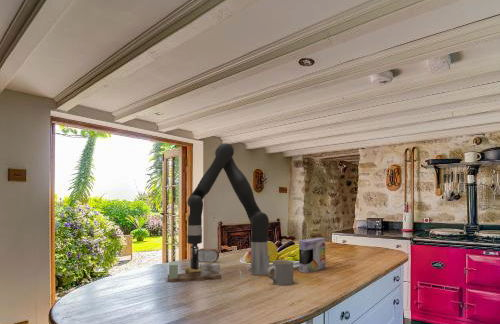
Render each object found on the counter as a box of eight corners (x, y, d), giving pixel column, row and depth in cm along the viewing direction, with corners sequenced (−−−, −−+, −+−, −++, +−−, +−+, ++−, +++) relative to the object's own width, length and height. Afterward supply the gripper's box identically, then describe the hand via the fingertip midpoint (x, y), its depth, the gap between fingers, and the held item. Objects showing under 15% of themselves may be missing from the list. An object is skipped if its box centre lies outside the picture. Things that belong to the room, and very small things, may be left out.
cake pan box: (304, 273, 185) (303, 240, 187) (297, 272, 189) (296, 239, 191) (326, 269, 197) (325, 238, 199) (319, 267, 201) (319, 237, 203)
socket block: (177, 274, 177) (177, 261, 178) (177, 278, 170) (177, 264, 170) (168, 275, 176) (169, 262, 177) (169, 278, 169) (169, 265, 169)
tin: (219, 261, 219) (219, 248, 220) (218, 262, 216) (218, 249, 217) (196, 261, 221) (196, 248, 222) (195, 262, 218) (195, 248, 219)
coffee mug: (289, 279, 172) (288, 259, 173) (296, 284, 163) (296, 263, 164) (263, 281, 169) (263, 260, 170) (269, 286, 160) (269, 264, 161)
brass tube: (217, 271, 180) (217, 256, 181) (218, 272, 177) (218, 257, 178) (185, 273, 176) (185, 258, 177) (185, 274, 173) (185, 259, 174)
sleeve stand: (218, 274, 183) (218, 262, 184) (221, 279, 174) (221, 266, 174) (167, 277, 177) (167, 264, 178) (167, 282, 167) (168, 268, 168)
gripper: (203, 235, 172) (203, 270, 170) (200, 232, 185) (200, 264, 184) (188, 235, 170) (187, 271, 168) (186, 232, 183) (186, 265, 182)
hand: (194, 267), depth 176 cm, fingers closed on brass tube, 3 cm apart
